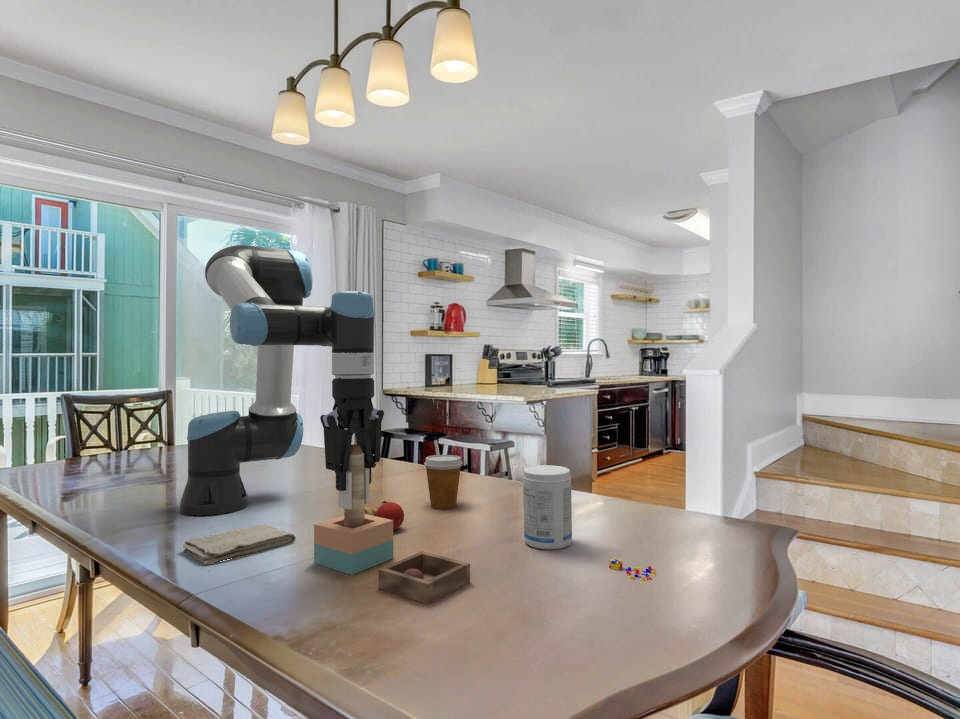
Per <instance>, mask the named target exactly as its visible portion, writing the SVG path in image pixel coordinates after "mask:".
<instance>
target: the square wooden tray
mask: <svg viewBox="0 0 960 719" xmlns="http://www.w3.org/2000/svg"><path fill="white" fill-rule="evenodd" d="M408 569H417V570H419V571H421V572H422V573H423V572H424V573H427V572H428V574H431V575H434V574H435V575H434V577H432V578H430V579H429V580H426V579H425V578H424V579H420V578H417V577H413V576H410V575H407V574H403V573H404V572H405V571H406V570H408ZM470 582H471V563H469V562H465V561H462V560H457V559H453V558H450V557H449V558H448V557H446V556H442V555H438V554H434V553H431V552H426V551H419V552H417V553H415V554H412V555H410V556H407V557H405V558H402V559H400V560H398V561H395V562H393V563H391V564H388V565H386V566H384V567H381V568H379V569H378V589H380V590H384V591H387V592H390V593H393V594H396V595H399V596H401V597H404V598H408V599H411V600H413V601H414V600H415V601H418V602H421V603H423V604H426V603H427V604H426V605H429V603H430V604H431V603H433V602H435V601H437V600H439V599H441V598H442V597H444V596H446V595H448V594H450V593H452V592H454V591H456V590H458V589H459V588H461V587H463V586H465V585H467V584H469V583H470Z"/></svg>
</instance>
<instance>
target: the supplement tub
mask: <svg viewBox="0 0 960 719" xmlns="http://www.w3.org/2000/svg"><path fill="white" fill-rule="evenodd" d="M522 481H523V482H522V487H523V488H522V490H523V491H522V493H523V495H522V496H523V498H522V500H523V501H522V502H523V504H522V505H523V539H524V542H525V544H527V545H528V546H530V547H533V548H535V549H540V550H559V549H560V550H561V549H563V548H565V547H568V546H570V544H571V543H572V540H573V520H572V518H573V517H572V515H573V511H572V510H573V507H572V505H573V504H572V503H573V502H572V476H571V470H570V468H568V467H565V466H562V465H554V464H553V465H552V464H551V465H550V464H549V465H548V464H546V465H545V464H542V465H534V466H532V465H530V466H527V467H525V468H524V469H523V476H522Z"/></svg>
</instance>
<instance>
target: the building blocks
mask: <svg viewBox="0 0 960 719" xmlns="http://www.w3.org/2000/svg"><path fill="white" fill-rule="evenodd" d="M608 564H609V566H608V568H609V569H612V570H616V571H620V570H621V569H622V568H623V560H622V559H620V558H615V557H613V558H611V559H610V560H609V561H608ZM640 569H644V567H642V566H635V567H633V569H632V567H627V568H625V569H624V572H626V575H627V578H629V577H630V578H629V579H630V580H632V579H633V580H635V579H638V578H639V577H640V578H639V579H640V580H639V581H640V582H642V581H643V580H644V581H643V582H648V581H649V580H650V581H653V580H654V578H652V577H656V576H657V575H656V574H657V572H656V571H657V569H655V568H652V566H651V565H648V567H647V568H645V570H642V573H641V570H640ZM632 571H633V572H634V575H633V574H632V573H631V572H632ZM649 573H651V574H650V575H649ZM628 574H629V575H628ZM640 574H641V575H642V576H639V575H640ZM630 575H631V576H630ZM645 576H646V577H645ZM635 577H636V578H635ZM637 577H638V578H637ZM646 578H647V580H646ZM641 580H642V581H641Z"/></svg>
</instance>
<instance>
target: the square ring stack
mask: <svg viewBox="0 0 960 719" xmlns="http://www.w3.org/2000/svg"><path fill="white" fill-rule="evenodd" d="M364 518H365V525H362V526H359V527H356V528H353V529H352V528H348V527H345V526H344V515H341V516H338V517H333V518H331V519H326V520H323V521H320V522H316V523H314V524H313V552H314V553H313V559H314V560H313V562H314V564H317V565H320V566H323V567H325V568H329V569H332V570H336V571H338V572H342V573H345V574H347V575H351V576H353V575H356V574H358V573H360V572H362V571H365V570H367V569H368V570H369V569H370V568H373V567H375V566H377V565H379V564H382V563H385V562H387V561H389V560H392V559H394V530H393V520H390V519H385V518H381V517H377V516H372V515H368V514H364Z"/></svg>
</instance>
